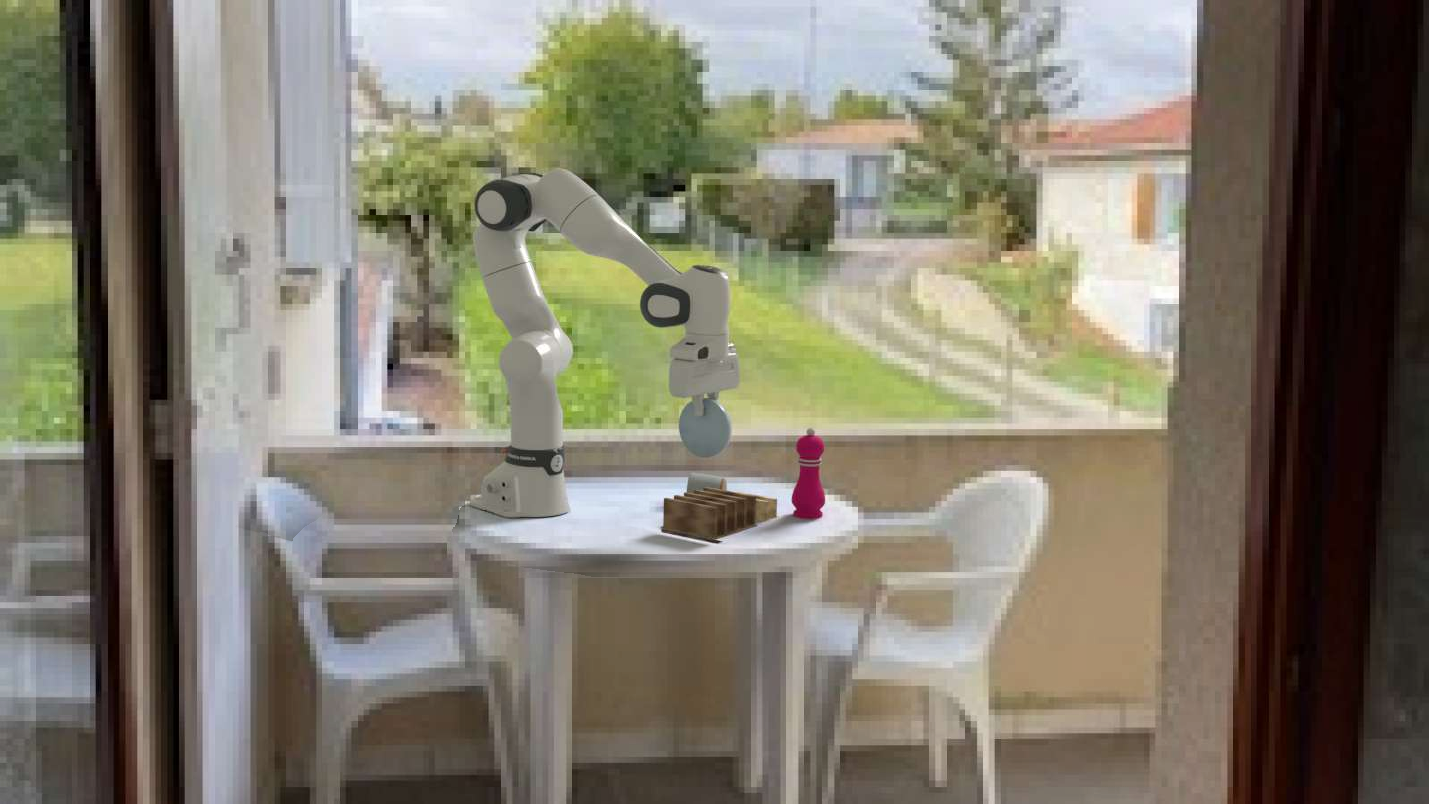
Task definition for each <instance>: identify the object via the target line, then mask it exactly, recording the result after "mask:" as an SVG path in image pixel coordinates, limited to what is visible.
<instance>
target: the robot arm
mask: <svg viewBox="0 0 1429 804" xmlns="http://www.w3.org/2000/svg"><path fill="white" fill-rule="evenodd" d="M474 211H475V215H476V217H477V220H478V221H479V222H480V224H479V225H477V227H476V228H475V229H474V231H473V233H472V242H473V249H474V254H475V259H476V263H477V267H478V270H479V273H480V276H481V280H482V282H483V285H484V288H485V292H486V294H487V297H488V299H489V302H490V305H491V308H492V310H493V313H494V314H495V316H496V317H497V318H499V320H500V321H501V322H502V324H503V325H504V327H505V328H506V330H507V333H508V334H509V335H510V337H511V339H510V340H509V341H508V342H507V343H506V344H505V345H504V347H503V348H502V350H501V351H500V354H499V359H498V366H499V370H500V372H501V374H502V376H503V377H504V380H505V385H506V391H507V396H508V401H509V409H510V445H509V446H506V447H502V448H501V450H503V451H501V454H506V455H505V458H504V460H503V462H502V463H501V464H499V465H498V466H497V467H496V468H495V469H493V470H492V471H490V472H489V473H488V474H486V475H485V476H484V478H483V480H482V482H481V489H480V496H476V497H474V498H472V499H471V500H470V501H469V506H471V507H473V508H476V509H480V510H484V511H485V510H488V511H487V512H489V511H490V512H489V513H492V512H493V513H492V514H494V515H498V516H500V517H504V518H522V517H523V518H525V517H527V518H541V517H542V518H543V517H544V518H545V517H552V516H554V517H555V516H559V515H563V514H565V513H568V512H569V511H570V510H571V508H570V505H569V501H568V500H569V499H568V496H567V495H568V494H567V488H566V479H565V471H564V466H565V462H566V451H565V448H566V447H565V445H564V444H563V443H564V441H563V440H564V439H563V438H564V437H563V436H564V434H563V433H564V432H563V431H564V430H563V429H564V416H563V415H564V410H563V408H562V407H563V406H562V405H561V402H560V398H559V395H558V388H557V382H556V380H557V379H556V378H557V377H558V376H559V375H561V374H562V373H563V372H564V371H566V369H567V367H569V365H570V363H571V361H572V360H573V359H572V358H573V354H574V347H573V343H572V340H571V339H570V337H569V336H568V335H567V334H566V333H565V332H564V331H563V328H562V327H561V325H560V323H559V321H558V320H557V318H556V316H555V314H554V312H553V310H552V308H551V307H550V305H549V303H548V302H547V300H546V297H545V295H544V293H543V290H542V288H541V287H542V286H541V284H540V282H539V279H538V276H537V273H536V270H535V268H534V265H533V262H532V259H531V256H530V253H529V250H528V248H527V243H526V236H527V233H528V232H535V231H537V229H539V228H540V227H541V226H542V225H543V224H545V223H546V222H547V221H548V222H549V223H550V224H552V225H553V227H554V228H555V229H556V230H557V231H558V232H559V233H560V234H561V235H562V236H563V237H564V238H565V239H566V240H567V241H568V242H569V243H570V244H571V245H573V246H574V247H576V248H577V249H578V250H580V251H581V252H583V253H584V254H586V255H589V256H594V257H598V258H599V257H600V258H605V259H608V260H611V261H615V262H618V263H620V264H622V265H624V266H626V267H627V268H628V269H630V270H631V271H632V272H633V273H634V274H635V275H636V276H637V277H638V278H640V279H641V280H642V281H643V282H644V283H645V284H646V285H648V286H647V287H646V288H645V289H644V290H643V292H642V293H641V296H640V300H639V308H640V313H641V315H642V317H643V319H644V320H645V321H646V323H648V324H650V325H651V326H652V327H656V328H659V329H669V328H676V327H680V326H683V327H684V328H685V333H684V334H685V335H684V336H685V337H683V338H682V339H680V340H679V341H678V342H677V343H675V344H674V345H672V346H671V347H669V348H670V349H669V357H670V358H671V359H672V360H671V361H670V364H669V370H668V390H669V393H670V395H671V396H672V397H674V398H679V399H686V398H691V401H692V402H693V404H694V407H695V415H696V416H705V415H706V407H704V405H703V401H702V400H704V398H705V395H706V397H707V398H710V399H713V400H715V401H717V402H718V400H719V397H720V392H723V391H729V390H734V389H738V388H739V386H740V382H741V368H740V366H741V365H740V358H739V355H738V350H737V348H736V347H735V345H734V344H733V343H730V329H729V317H730V314H731V285H730V279H729V278H730V277H729V276H728V273H726V272H725V271H724V270H723V269H720V268H719V267H715V266H711V265H704V264H696V265H692V266H691V267H689V269H687V270H685V271H683V272H681V271H679V270H678V269H676V268H675V267H674V266H673V265H672V264H670V263H669V262H668V261H667V260H666V259H665V258H664V257H663V256H662V255H660V253H658V252H657V250H655V248H653V247H652V246H651V245H650V244H649V243H647V241H645V240H644V239H642V237H641V236H639V235H638V234H637V233H636V232H635V231H634V230H633V229H632V228H631V226H629V225H628V224H627V223H626V222H625V221H624V220H623V219H622V218H621V217H620V215H618V213H617V212H616V211H615V210H614V209H613V208H612V207H611V205H609V204H608V203H607V202H606V201H605V200H604V198H603V197H601V196H600V194H598V193H597V192H596V191H595V190H594V188H592V187H590V185H589V184H587V183H586V182H585V181H584V180H582V179H581V178H580V177H578V175H576V174H575V173H572V171H570V170H568V169H565V168H561V167H559V168H557V167H556V168H553V169H552V170H549V171H547V172H546V173H545V174H541V173H536V172H535V173H533V172H531V173H527V174H526V173H523V174H521V173H520V174H512V175H509V176H507V177H503V178H501V179H500V178H498V179H494V180H491V181H489V182H488V183H485V184H484V185H483V186H481V188H480V189H479V190H478V191H477V193H476V195H475V198H474ZM556 376H557V377H556Z"/></svg>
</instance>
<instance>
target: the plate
mask: <svg viewBox="0 0 1429 804" xmlns="http://www.w3.org/2000/svg"><path fill="white" fill-rule="evenodd" d="M702 401H703V405H704V407H706V415H705V416H696V415H695V407H694V404H693V402H692V400H691V401H689V402H688V403H687V404H686V405H685V406H684V407H683V408H682V410H681V413H680V415H679V420H678V432H679V436H680V439H681V441H682V443H683V446H685V448H686V449H687V451H689V452H690V453H691V454H693V456H694V455H695V456H696V457H699V458H704V459H705V458H712V457H715V456H719V455H721V454H722V453H723V452H724V451H725V450H726V449H727V447H728V446H729V444H730V441H731V438H732V433H733V432H732V431H733V429H732V421H731V418H730V415H729V413H728V412H727V409H726V408H725V407H724V406H723V405H722V404H721V403H720V402H719V401H718V400H717V401H715V400H713V399H710V398H708V397H704V400H702Z"/></svg>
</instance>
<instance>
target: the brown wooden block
mask: <svg viewBox="0 0 1429 804" xmlns="http://www.w3.org/2000/svg"><path fill="white" fill-rule="evenodd" d="M737 493H742V494H748V495H753V496H756V521H758V522H767V521H771V520H774V519H776V518H779V517H780V516H779V515H777V514H778V513H777V512H778V498H774V497H768V496H762V495H757V494H753V493H747V492H742V491H737Z"/></svg>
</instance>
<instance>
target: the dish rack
mask: <svg viewBox="0 0 1429 804" xmlns="http://www.w3.org/2000/svg"><path fill="white" fill-rule="evenodd" d="M737 492H738V491H737ZM737 492H736V491H732V490H731V491H730V490H727V491H726V490H720V489H715V488H709V487H703V491H702V490H694V493H688V492H687V491H685V492H683V495H679V494H674V495H673V498H670V497H663V516H662V517H663V518H662V520H663V521H662V522H663V523H662V525H663V526H662V525H661V529H660V531H661V533H663V534H668V535H673V536H678V537H682V538H687V539H693V540H698V541H702V542H707V543H709V544H716V545H718V544H720V543H723V542H724V541H723V540H718V539H721V538H724V537H727V536H730V535H733V534H737V533H739V532H742V531H743V532H744V531H746V530H748V529H751V528H755V527H758V524H756V521H757V520H756V496H753V495H754V494H753V495H748V494H749V493H747V494H742V493H743V492H742V493H737Z"/></svg>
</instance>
